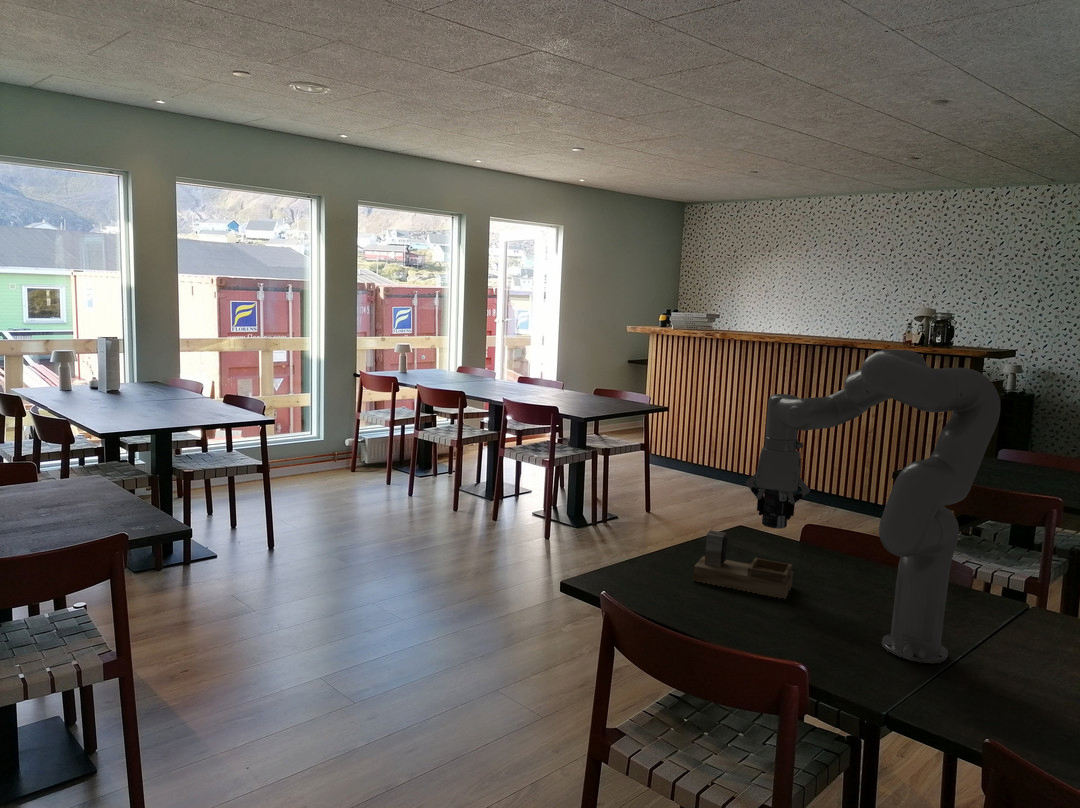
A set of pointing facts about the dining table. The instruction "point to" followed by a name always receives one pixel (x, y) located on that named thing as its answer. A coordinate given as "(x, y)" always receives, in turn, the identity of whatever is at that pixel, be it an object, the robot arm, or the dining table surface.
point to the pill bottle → (775, 509)
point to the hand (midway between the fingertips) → (774, 515)
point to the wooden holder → (741, 570)
